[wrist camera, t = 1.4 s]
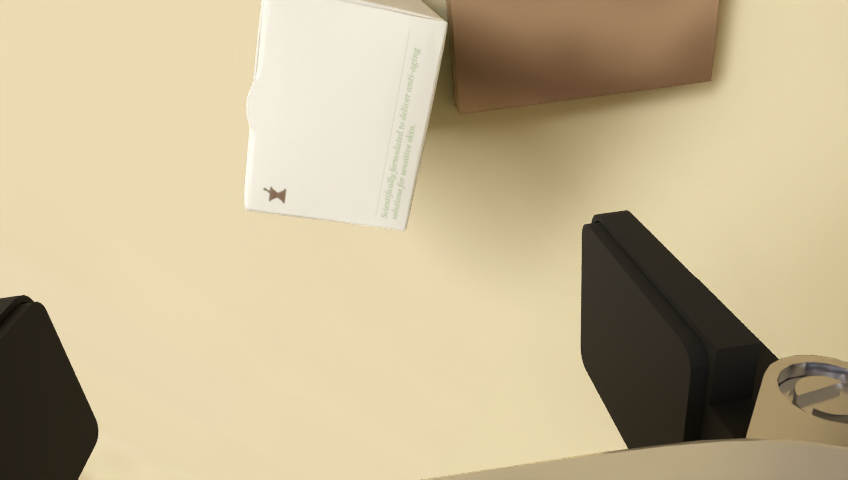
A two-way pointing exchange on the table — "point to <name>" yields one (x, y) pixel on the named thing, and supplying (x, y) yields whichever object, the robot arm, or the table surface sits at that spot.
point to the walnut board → (575, 48)
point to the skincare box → (341, 108)
